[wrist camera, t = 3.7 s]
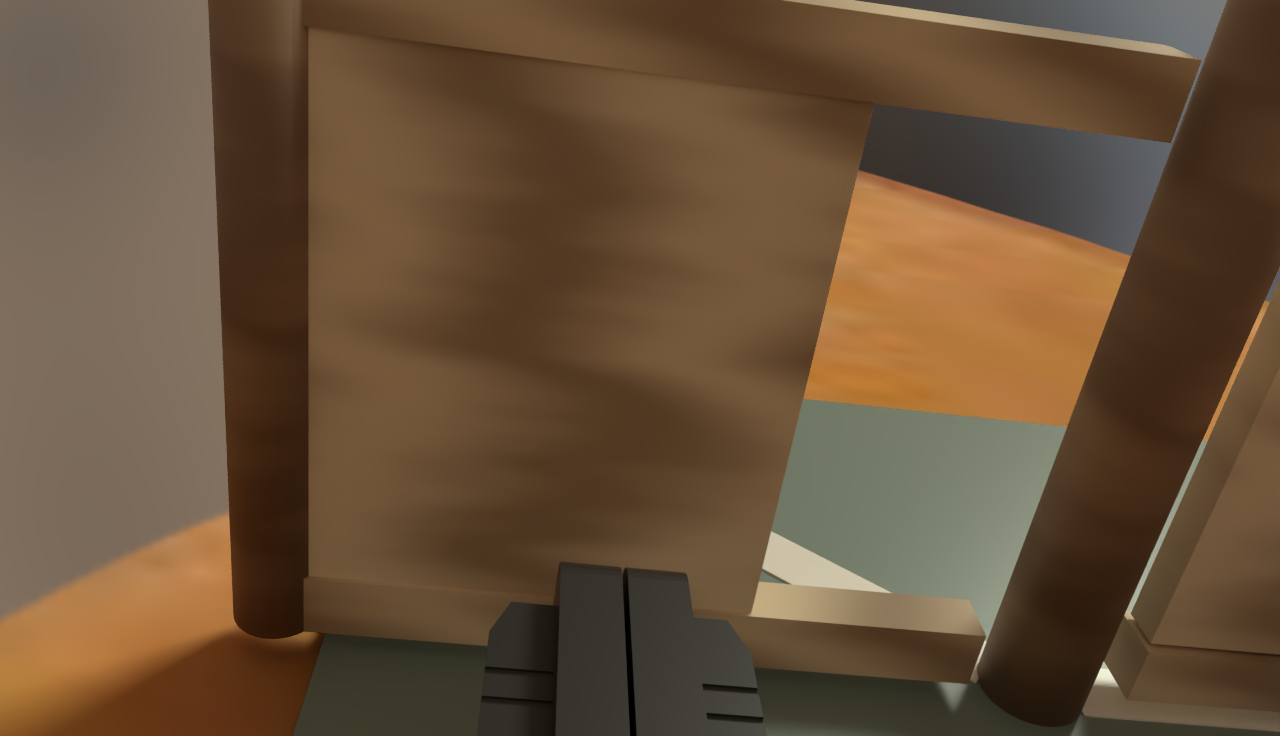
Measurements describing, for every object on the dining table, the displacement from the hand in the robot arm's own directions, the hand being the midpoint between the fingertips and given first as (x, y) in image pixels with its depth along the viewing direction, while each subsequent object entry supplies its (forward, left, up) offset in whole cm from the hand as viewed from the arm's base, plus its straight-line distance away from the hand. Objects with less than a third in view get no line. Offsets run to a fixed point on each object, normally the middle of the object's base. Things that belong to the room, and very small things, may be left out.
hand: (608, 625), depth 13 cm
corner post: (-11, -8, -8) cm, 16 cm away
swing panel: (-1, -8, -8) cm, 11 cm away
